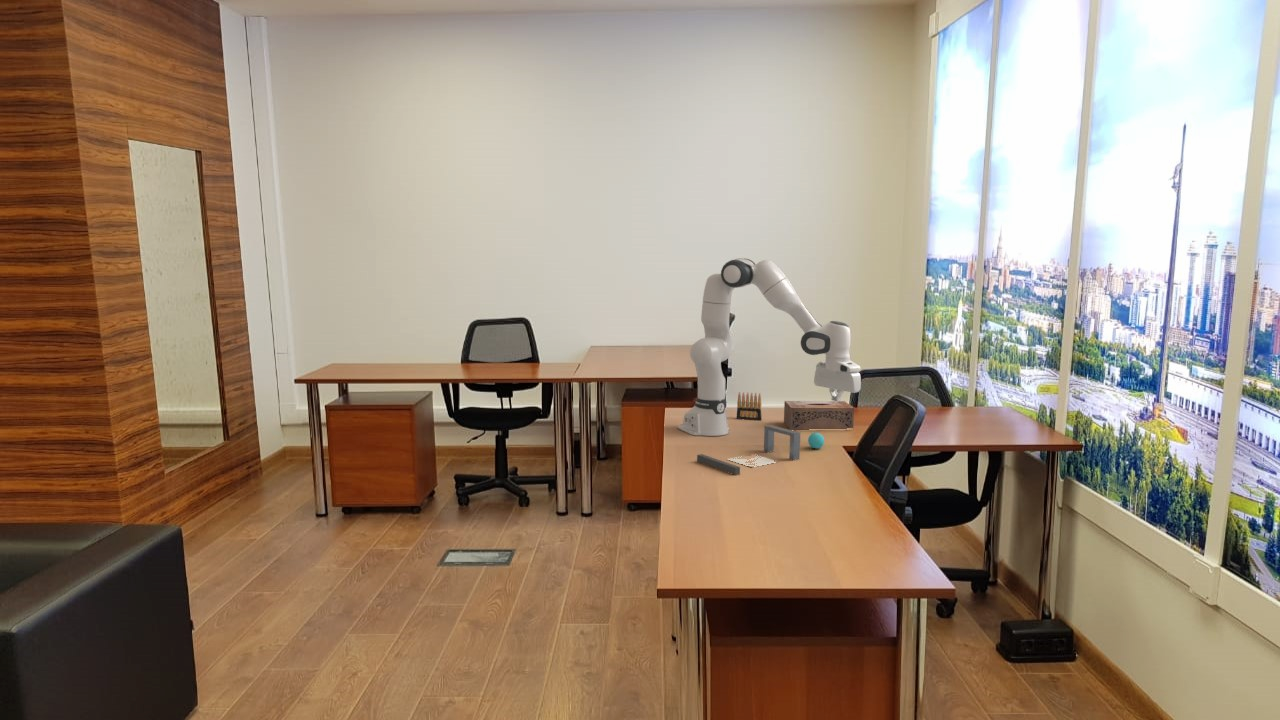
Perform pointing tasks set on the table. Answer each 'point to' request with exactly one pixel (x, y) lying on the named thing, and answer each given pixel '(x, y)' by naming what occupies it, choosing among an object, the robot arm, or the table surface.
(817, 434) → the ball
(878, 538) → the table surface
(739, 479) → the table surface
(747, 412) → the ammunition clip
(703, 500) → the table surface
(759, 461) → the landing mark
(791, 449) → the bridge
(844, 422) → the tissue box cover
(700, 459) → the stopper
